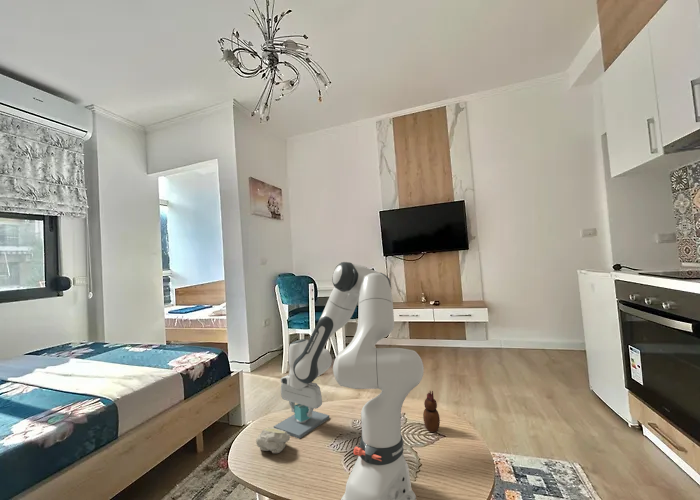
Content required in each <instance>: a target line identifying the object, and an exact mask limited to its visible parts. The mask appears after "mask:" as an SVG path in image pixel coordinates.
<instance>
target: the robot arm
mask: <svg viewBox="0 0 700 500" xmlns="http://www.w3.org/2000/svg"><path fill="white" fill-rule="evenodd" d="M336 265H337V264H336ZM331 278H332V281H331V282H332V285H333V289H332V290H331V292H330V295H329V297H328V299H327V302H326V304H325V307H324V309H323V311H322V313H321V316H320V317H319V319H318V322H317V323H316V325H315V327H314V329H313V331H312V334H311V335H310V336H309V337H310V338H309V339H307V338H303V339H302V338H301V339H297V340H294V341H292V342H291V343H290V344H289V347H288V354H287V355H288V365H289V370H288V374H287V375H285V376H282V377H280V396H281V399H282V400H285V401H287V402H288V404H289V407H290V408H291V412H292V413H293V414H295V410H294V405H297V404H301V405H304V406H308V409H309V411H308V412H307V417H312V411H314V410H316V409H319V408H320V407H321V406H322V405H323V397H322V392H321V387H320V386H319V385H318V383H316V382H314V380H316V379H317V378H318V377H319V376H321V375H323V374H324V373H326V371H328V370H329V369H330V368H331V366H332V371H333V373H332V374H333V376H334V378H335V381H336V382H337V384H338V385H339V386H340V387H344V388H348V389H354V390H381V392H380V393H379V394H378V395H377V396H375V397H373V398H371V399H370V400H368V401H367V402H365V404H364V405H363V407H362V408H361V411H360V417H361V418H360V420H361V422H360V423H361V437H360V442H359V446H358V445H357V446H356V445H355V447H354V448H353V455H355V456H358V457H357V459H356V461H355V463H354V465H353V468H352V469H351V472H350V474H349V476H348V479H347V481H346V484H345V492H344V494H343V495H342V497H341V499H340V500H417V496H416V493H415V492H414V491H413V490H412V485H411V477H410V469H409V465H408V463H407V461H406V458H405V456H404V446H405V445H404V440H403V435H402V431H401V429H402V428H401V425H402V424H401V417H402V416H401V415H402V408H403V404H404V403H405V399H406V398H407V397H408V395H409V394H410V392H411V391H412V390H413V389H415V388H416V387H417V386H418V385H419V384H420V383H421V381H422V380H423V377H424V373H425V372H424V370H425V368H424V363H423V360H422V358H421V357H420V355H419V354H418V353H417V351H415V350H413V349H409V348H404V347H403V348H402V347H379V348H377V347H375V346H376V344H377V343H378V342H379V341H381V340H383V339H384V338H387V337H388V336H390V334H391V333H392V332H393V331H394V328H395V318H394V317H395V316H394V302H393V301H394V300H393V294H392V289H391V287H392V284H391V279H390V278H389V276H387V275H386V274H385V273H382V272H378V271H376V270H375V269H371V268H369V267H367V266H364V265H361V264H355V263H352V262H347V261H343V262H340V263H338V265H337V266H336V267H335V268H334V271H333V273H332V277H331ZM357 305H358V314H357V315H358V316H357V317H358V319H357V327H356V331H355V334H354V336H353V338H352V340H351V341H350V342H349V344H348V345H347V346H346V347H345V348H344V349H342V350H341V351H340V352H339V353H338V354H337V355H336V357H335V359H334V362H333V358H332V355H331V352H330V351H329V350H328V349H327V348H325V347H326V345H327V343H328V341H329V340H330V338H331V337H332V336H333V335H334V334H335V333H337V331H339V330H340V329H342V328H343V327H344V326H346V325H347V324H348V322H349V321H350V319H351V318H352V317H353V315H354V312H355V310H356V308H357ZM332 364H333V365H332Z"/></svg>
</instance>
